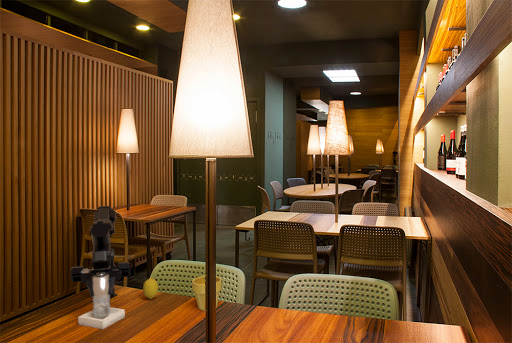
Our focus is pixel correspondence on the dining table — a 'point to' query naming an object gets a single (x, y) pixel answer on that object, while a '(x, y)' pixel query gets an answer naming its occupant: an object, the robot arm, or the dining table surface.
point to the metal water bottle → (101, 294)
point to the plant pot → (199, 290)
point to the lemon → (150, 288)
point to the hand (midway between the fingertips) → (101, 295)
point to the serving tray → (101, 318)
